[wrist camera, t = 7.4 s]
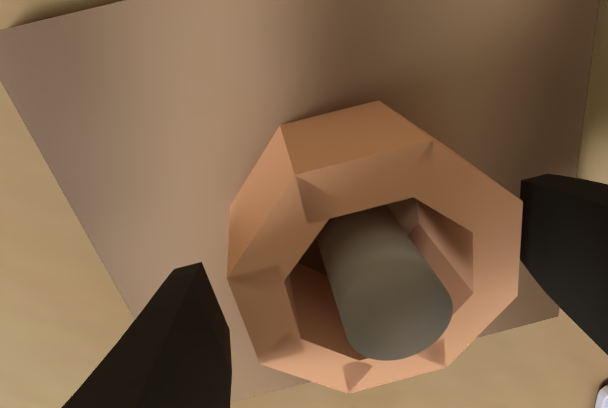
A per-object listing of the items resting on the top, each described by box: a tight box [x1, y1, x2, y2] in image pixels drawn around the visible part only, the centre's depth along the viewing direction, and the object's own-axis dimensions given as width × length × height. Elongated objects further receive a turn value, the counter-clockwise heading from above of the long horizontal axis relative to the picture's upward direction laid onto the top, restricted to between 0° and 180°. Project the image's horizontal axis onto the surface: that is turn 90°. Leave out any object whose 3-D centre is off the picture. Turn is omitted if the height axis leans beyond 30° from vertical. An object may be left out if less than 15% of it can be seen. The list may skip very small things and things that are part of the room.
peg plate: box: [0, 0, 599, 403], centre depth 9 cm, size 13×12×5 cm
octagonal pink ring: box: [227, 100, 523, 394], centre depth 9 cm, size 6×6×3 cm
